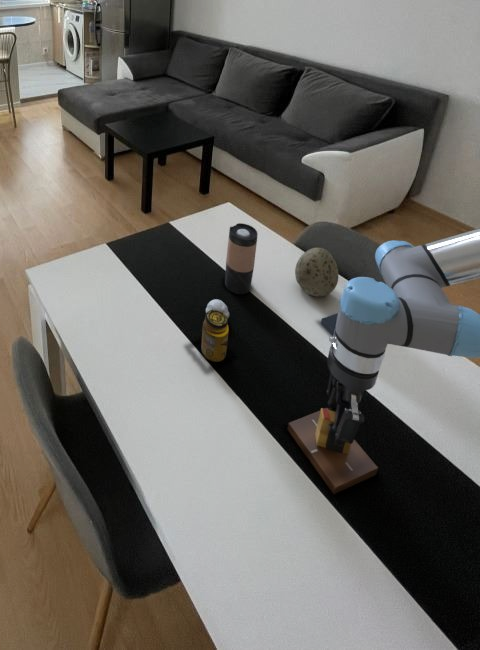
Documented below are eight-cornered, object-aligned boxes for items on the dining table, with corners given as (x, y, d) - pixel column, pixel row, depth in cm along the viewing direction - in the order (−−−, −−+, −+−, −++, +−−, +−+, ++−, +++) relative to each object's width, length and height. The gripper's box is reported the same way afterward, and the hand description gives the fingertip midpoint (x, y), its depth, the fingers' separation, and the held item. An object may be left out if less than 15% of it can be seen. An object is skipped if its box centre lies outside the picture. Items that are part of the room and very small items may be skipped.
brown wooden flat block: (375, 475, 81) (378, 467, 80) (333, 495, 79) (335, 486, 78) (325, 415, 92) (327, 406, 91) (286, 430, 90) (288, 422, 89)
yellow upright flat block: (345, 442, 85) (353, 415, 82) (348, 454, 83) (356, 427, 80) (314, 434, 86) (321, 407, 83) (316, 445, 85) (323, 418, 81)
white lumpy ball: (204, 329, 114) (206, 310, 111) (205, 309, 120) (206, 290, 117) (228, 334, 112) (230, 314, 110) (227, 313, 118) (229, 294, 116)
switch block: (378, 347, 106) (381, 335, 105) (352, 356, 104) (355, 344, 103) (344, 316, 115) (347, 305, 114) (320, 324, 113) (322, 313, 112)
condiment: (233, 358, 106) (237, 322, 101) (206, 372, 103) (209, 336, 98) (213, 336, 112) (216, 301, 107) (187, 349, 109) (189, 313, 104)
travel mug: (251, 298, 123) (258, 241, 115) (223, 292, 125) (228, 237, 118) (250, 279, 129) (257, 225, 122) (224, 274, 132) (229, 221, 124)
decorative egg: (343, 300, 120) (353, 258, 115) (310, 309, 118) (319, 266, 112) (314, 274, 130) (322, 234, 124) (284, 282, 128) (290, 241, 122)
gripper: (323, 318, 83) (305, 399, 92) (339, 391, 70) (317, 477, 79) (367, 326, 81) (345, 409, 90) (393, 404, 68) (364, 492, 76)
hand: (332, 441), depth 84 cm, fingers closed on yellow upright flat block, 2 cm apart
